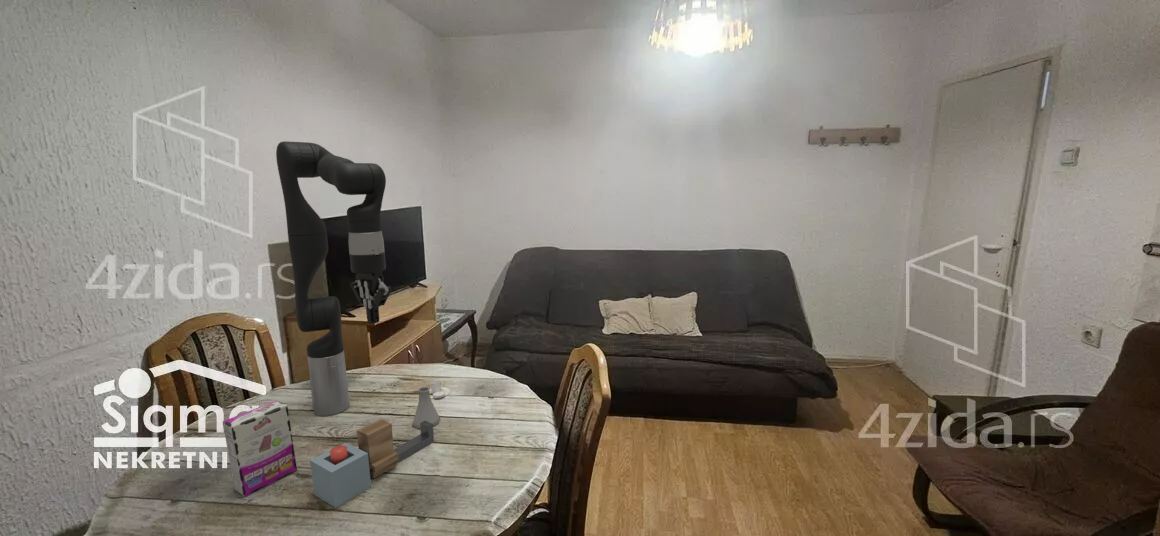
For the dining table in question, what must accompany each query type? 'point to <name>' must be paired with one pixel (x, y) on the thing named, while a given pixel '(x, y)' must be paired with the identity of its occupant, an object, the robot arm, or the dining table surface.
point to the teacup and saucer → (438, 389)
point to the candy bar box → (260, 447)
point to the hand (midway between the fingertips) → (373, 322)
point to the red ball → (338, 454)
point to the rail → (415, 442)
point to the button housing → (340, 476)
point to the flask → (425, 409)
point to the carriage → (378, 446)
